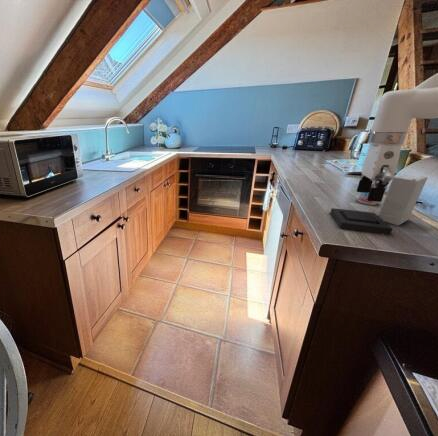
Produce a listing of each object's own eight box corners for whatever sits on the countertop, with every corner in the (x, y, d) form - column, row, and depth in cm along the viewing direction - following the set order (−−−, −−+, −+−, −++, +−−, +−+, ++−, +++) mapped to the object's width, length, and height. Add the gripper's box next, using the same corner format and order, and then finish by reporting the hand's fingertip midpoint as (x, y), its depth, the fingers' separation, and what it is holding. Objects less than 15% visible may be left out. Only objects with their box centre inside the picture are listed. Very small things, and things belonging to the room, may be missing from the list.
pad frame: (372, 218, 83) (374, 212, 82) (390, 234, 71) (392, 228, 70) (330, 213, 87) (331, 208, 86) (340, 228, 75) (341, 222, 75)
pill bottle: (353, 201, 99) (362, 173, 95) (364, 199, 101) (373, 172, 96) (370, 206, 94) (380, 177, 89) (381, 204, 95) (391, 175, 91)
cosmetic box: (386, 215, 85) (402, 172, 79) (409, 220, 80) (429, 176, 74) (375, 219, 81) (391, 175, 75) (399, 226, 76) (419, 179, 70)
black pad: (366, 220, 81) (368, 213, 80) (374, 228, 75) (377, 221, 74) (340, 217, 83) (342, 210, 82) (346, 225, 77) (349, 218, 76)
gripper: (420, 141, 60) (396, 206, 67) (390, 136, 75) (372, 190, 81) (381, 141, 63) (362, 203, 70) (359, 136, 78) (345, 188, 84)
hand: (367, 196), depth 75 cm, fingers open, 9 cm apart
